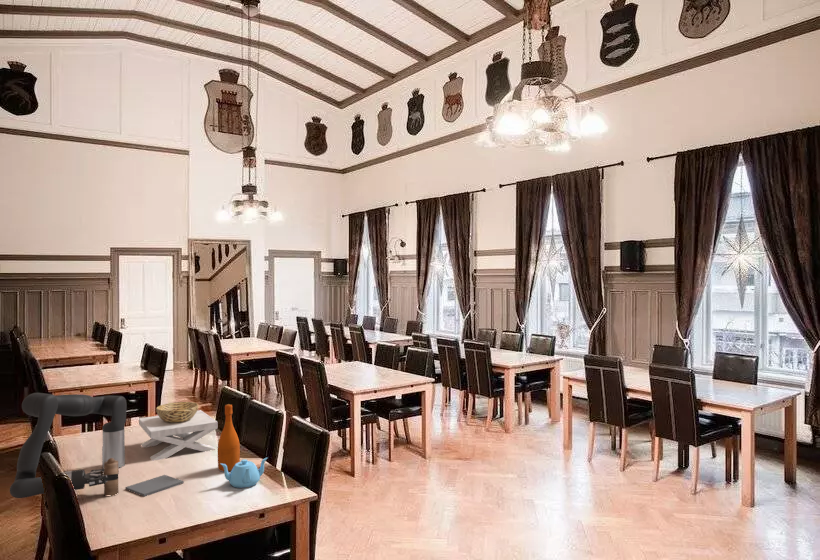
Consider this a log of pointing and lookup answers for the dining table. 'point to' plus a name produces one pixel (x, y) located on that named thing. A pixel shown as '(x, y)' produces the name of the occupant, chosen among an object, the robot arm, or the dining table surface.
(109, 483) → the pepper mill
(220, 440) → the wine bottle
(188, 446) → the white x-leg bench
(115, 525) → the dining table surface
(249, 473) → the teapot
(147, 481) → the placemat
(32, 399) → the robot arm
